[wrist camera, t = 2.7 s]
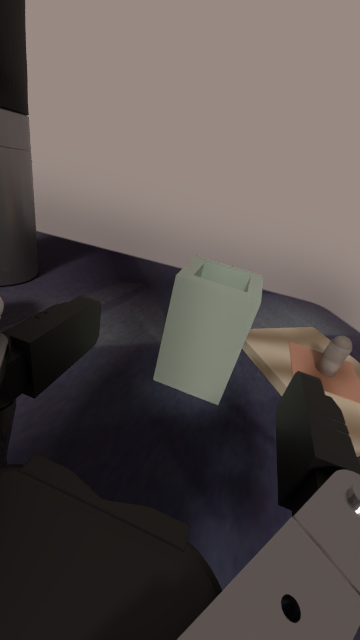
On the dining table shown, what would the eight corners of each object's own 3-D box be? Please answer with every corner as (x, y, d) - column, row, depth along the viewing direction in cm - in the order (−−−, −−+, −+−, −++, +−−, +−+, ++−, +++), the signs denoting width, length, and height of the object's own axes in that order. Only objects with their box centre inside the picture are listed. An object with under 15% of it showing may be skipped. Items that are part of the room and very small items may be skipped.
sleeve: (153, 379, 23) (176, 275, 18) (174, 344, 28) (196, 255, 23) (218, 405, 22) (261, 302, 17) (227, 364, 27) (263, 275, 22)
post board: (232, 337, 32) (248, 297, 29) (309, 334, 37) (328, 299, 35) (337, 463, 20) (381, 414, 17) (429, 431, 25) (474, 390, 22)
